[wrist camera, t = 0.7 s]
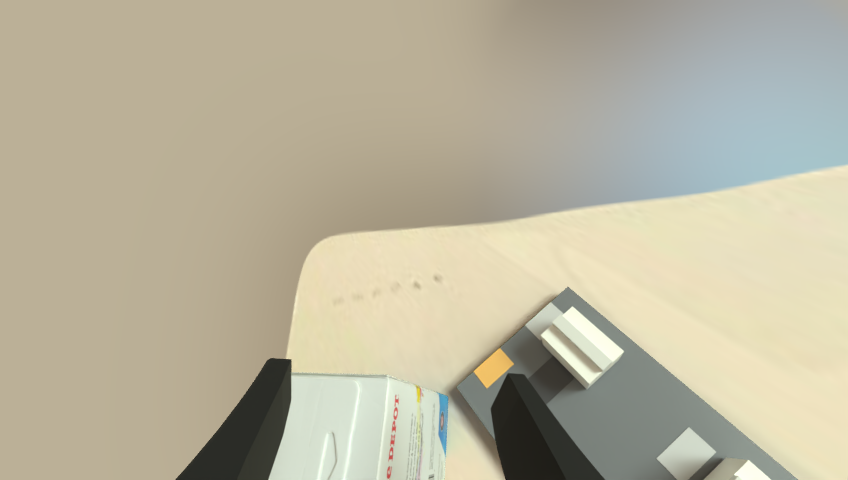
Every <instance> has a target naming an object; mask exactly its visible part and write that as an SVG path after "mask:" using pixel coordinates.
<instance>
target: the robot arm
mask: <svg viewBox="0 0 848 480" xmlns="http://www.w3.org/2000/svg"><path fill="white" fill-rule="evenodd" d="M290 404H291V359H275V358H271V359H269V360H267V362H266V363H265V365H264V366H263V368H262V370H261V371H260V373H259V374H258V376H257V377H256V379H255V380H254V382H253V383H252V385H251V386H250V388H249V389H248V391H247V392H246V394H245V395H244V396H243V398H242V399H241V400H240V402H239V403H238V404H237V406H236V407H235V408H234V410H233V411H232V412H231V414H230V415H229V416H228V417H227V419H226V420H225V422H224V423H223V424H222V425H221V427H220V428H219V429H218V431H217V432H216V433H215V434H214V435H213V437H212V438H211V439H210V440H209V441H208V443H207V444H206V445H205V446H204V447H203V448H202V450H201V451H200V452H199V453H198V455H197V456H196V457H195V458H194V459H193V460H192V462H191V463H190V464H189V465H188V466H187V467H186V469H185V470H184V471H183V472H182V473H181V474H180V475H179V476H178V477H177V479H176V480H268V479H269V476H270V473H271V470H272V467H273V464H274V461H275V458H276V455H277V452H278V449H279V446H280V443H281V440H282V437H283V434H284V430H285V426H286V421H287V417H288V413H289V408H290ZM490 409H491V416H492V423H493V429H494V435H495V441H496V445H497V449H498V453H499V456H500V460H501V464H502V468H503V471H504V475H505V479H506V480H605V479H604V478H603V477H602V475H601V474H600V473H599V472H598V471H597V469H596V468H595V467H594V466H593V465H592V463H591V462H590V461H589V460H588V459H587V457H586V456H585V455H584V454H583V453H582V451H581V450H580V449H579V448H578V446H577V445H576V444H575V442H574V441H573V440H572V439H571V437H570V436H569V435H568V433H567V432H566V431H565V429H564V428H563V427H562V425H561V424H560V423H559V421H558V420H557V419H556V417H555V416H554V415H553V413H552V412H551V411H550V409H549V408H548V406H547V405H546V404H545V402H544V401H543V400H542V398H541V397H540V395H539V394H538V393H537V391H536V390H535V388H534V387H533V386H532V384H531V383H530V382H529V380H528V379H527V377H526V376H525V375H524V374H515V373H507V376H506V378H505V380H504V382H503V384H502V386H501V388H500V390H499V392H498V394H497V396H496V398H495V400H494V402H493V404H492V406H491V408H490Z"/></svg>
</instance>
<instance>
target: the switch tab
mask: <svg viewBox="0 0 848 480" xmlns="http://www.w3.org/2000/svg"><path fill="white" fill-rule="evenodd" d="M541 339H542V343H543V345H544V346H545V348H546V349H547V350H548V351H549V352H550V353H551V354H552V355H553V356H554V357H555V358H556V359H557V360H558V361H559V362H560V363H561V364H562V365H563V366H564V367H565V368H566V369H567V370H568V371H569V372H570V373H571V374H572V375H573V376H574V377H575V378H576V379H577V380H578V381H579V382H580V383H581V384H582V385H583V386H584V387H585V388H586V389H588V388H589V387H590V386H591V385H592V384H593V383H595V382H596V381H597V380H598V379H599V378H600V377H601V376H602V375H603V374H604V373H605V372H606V371H607V370H609V369H610V368H611V367H612V366H613V365H614V364H615V363H616V362H617V361H618V360H619V359H620V357H621V356H622V354H623V353H624V351H623V350H622V349H621V348H620V347H619V346H617V345H616V344H615V343H614V342H613V341H612V340H611V339H609V338H608V337H607V336H606V335H605V334H604V333H603V332H601V331H600V330H599V329H598V328H597V327H596V326H594V325H593V324H592V323H591V322H590V321H589V320H588V319H586V318H585V317H584V316H583V315H582V314H581V313H580V312H578V311H577V310H576V309H575V308H574V307H573V306H572V307H571V308H570V309H569V310H568V311H567V312H566V313H564V314H563V315H561V314H560V315H559V316H558V317H557V318H556V319H555V320H554V321H553V322H552V325H551V326H550V327H549V328H548V329H547V330H546V331H545V332H543V333H542V334H541Z"/></svg>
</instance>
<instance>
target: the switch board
mask: <svg viewBox="0 0 848 480" xmlns="http://www.w3.org/2000/svg"><path fill="white" fill-rule="evenodd" d="M572 306H573V307H574V308H575V309H576V310H577V311H578V312H580V313H581V314H582V315H583V316H584V317H585V318H586V319H588V320H589V321H590V322H591V323H592V324H593V325H594V326H596V327H597V328H598V329H599V330H600V331H601V332H603V333H604V334H605V335H606V336H607V337H608V338H609V339H611V340H612V341H613V342H614V343H615V344H616V345H617V346H619V347H620V348H621V349H622V350H623V351H624V353H623V354H622V356H621V357H620V359H619V360H618V361H617V362H616V363H615V364H614V365H613V366H612V367H611V368H610V369H609V370H607V371H606V372H605V373H604V374H603V375H602V376H601V377H600V378H599V379H598V380H597V381H596V382H595V383H593V384H592V385H591V386H590V387H589V388H588V389H586V388H585V387H584V386H583V385H582V384H581V383H580V382H579V381H578V380H577V379H576V378H575V377H574V376H573V375H572V374H571V373H570V372H569V371H568V370H567V369H566V368H565V367H564V366H563V365H562V364H561V363H560V362H559V361H558V360H557V359H556V358H555V357H554V356H553V355H552V354H551V353H550V352H549V351H548V350H547V349H546V348H545V346H544V345H543V343H542V339H541V334H542V333H543V332H545V331H546V330H547V329H548V328H549V327H550V326H551V325H552V322H553V321H554V320H555V319H556V318H557V317H558V316H559V315H560V314H561V315H563V314H564V313H566V312H567V311H568V310H569V309H570V308H571V307H572ZM507 373H515V374H524V375H525V376H526V377H527V379H528V380H529V382H530V383H531V384H532V386H533V387H534V388H535V390H536V391H537V393H538V394H539V395H540V397H541V398H542V400H543V401H544V402H545V404H546V405H547V406H548V408H549V409H550V411H551V412H552V413H553V415H554V416H555V417H556V419H557V420H558V421H559V423H560V424H561V425H562V427H563V428H564V429H565V431H566V432H567V433H568V435H569V436H570V437H571V439H572V440H573V441H574V442H575V444H576V445H577V446H578V448H579V449H580V450H581V451H582V453H583V454H584V455H585V456H586V457H587V459H588V460H589V461H590V462H591V463H592V465H593V466H594V467H595V468H596V469H597V471H598V472H599V473H600V474H601V475H602V477H603V478H604V479H605V480H704V479H705V478H706V477H707V476H708V475H709V474H710V473H711V472H712V471H713V470H714V469H715V468H716V467H717V466H718V465H719V464H720V463H721V462H722V461H723V460H724V459H725V458H735V459H744V460H749V461H750V462H752V463H753V464H754V465H755V466H756V467H757V468H758V469H760V470H761V471H762V472H763V473H764V474H765V475H766V476H768V477H769V478H770V479H771V480H798V479H797V478H795V477H794V476H793V475H792V474H791V473H789V472H788V471H787V470H786V469H785V468H783V467H782V466H781V465H780V464H779V463H778V462H776V461H775V460H774V459H773V458H772V457H770V456H769V455H768V454H767V453H766V452H764V451H763V450H762V449H761V448H760V447H758V446H757V445H756V444H755V443H754V442H752V441H751V440H750V439H749V438H748V437H747V436H745V435H744V434H743V433H742V432H741V431H739V430H738V429H737V428H736V427H735V426H733V425H732V424H731V423H730V422H729V421H727V420H726V419H725V418H724V417H723V416H721V415H720V414H719V413H718V412H717V411H716V410H714V409H713V408H712V407H711V406H710V405H708V404H707V403H706V402H705V401H704V400H702V399H701V398H700V397H699V396H698V395H696V394H695V393H694V392H693V391H692V390H690V389H689V388H688V387H687V386H686V385H685V384H683V383H682V382H681V381H680V380H679V379H677V378H676V377H675V376H674V375H673V374H671V373H670V372H669V371H668V370H667V369H665V368H664V367H663V366H662V365H661V364H659V363H658V362H657V361H656V360H655V359H654V358H652V357H651V356H650V355H649V354H648V353H646V352H645V351H644V350H643V349H642V348H640V347H639V346H638V345H637V344H636V343H634V342H633V341H632V340H631V339H630V338H628V337H627V336H626V335H625V334H624V333H623V332H621V331H620V330H619V329H618V328H617V327H615V326H614V325H613V324H612V323H611V322H609V321H608V320H607V319H606V318H605V317H603V316H602V315H601V314H600V313H599V312H597V311H596V310H595V309H594V308H593V307H592V306H590V305H589V304H588V303H587V302H586V301H584V300H583V299H582V298H581V297H580V296H578V295H577V294H576V293H575V292H574V291H572V290H571V289H570V288H569V287H567V288H566V289H565V290H564V291H563V292H561V293H560V294H559V295H558V296H557V297H556V298H555V299H554V300H553V301H551V302H550V303H549V304H548V305H547V306H546V307H545V308H543V309H542V310H541V311H540V312H539V313H538V314H537V315H536V316H535V317H533V318H532V319H531V320H530V321H529V322H528V323H527V324H526V325H525V326H524V327H523V328H521V329H520V330H519V331H518V332H517V333H516V334H515V335H514V336H512V337H511V338H510V339H509V340H508V341H507V342H506V343H505V344H504V345H502V346H501V347H500V348H499V349H498V350H497V351H496V352H494V353H493V354H492V355H491V356H490V357H489V358H488V359H487V360H485V361H484V362H483V363H482V364H481V365H480V366H479V367H478V368H477V369H475V370H474V371H473V372H472V373H471V374H470V375H469V376H468V377H467V378H466V379H465V380H463V381H462V382H461V383H460V384H459V385H458V386H457V389H458V390H459V391H460V393H461V394H462V396H463V397H464V398H465V400H466V401H467V402H468V404H469V405H470V407H471V408H472V409H473V411H474V412H475V414H476V415H477V416H478V418H479V419H480V420H481V422H482V423H483V425H484V426H485V427H486V429H487V430H488V432H489V433H490V434H491V436H492V437H493V438H494V440H495V435H494V429H493V423H492V416H491V409H490V408H491V406H492V404H493V402H494V400H495V398H496V396H497V394H498V392H499V390H500V388H501V386H502V384H503V382H504V380H505V378H506V376H507Z"/></svg>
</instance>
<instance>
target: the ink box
mask: <svg viewBox="0 0 848 480" xmlns="http://www.w3.org/2000/svg"><path fill="white" fill-rule="evenodd" d="M447 416H448V397H447V396H446V395H443V394H440V393H437V392H434V391H431V390H429V389H425V388H423V387H420V386H417V385H414V384H411V383H408V382H405V381H403V380H400V379H397V378H395V377H392V376H389V375H377V374H336V373H294V372H291V404H290V408H289V413H288V417H287V421H286V426H285V430H284V434H283V437H282V440H281V443H280V446H279V449H278V452H277V455H276V458H275V461H274V464H273V467H272V470H271V473H270V476H269V479H268V480H445V461H446V438H447Z"/></svg>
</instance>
